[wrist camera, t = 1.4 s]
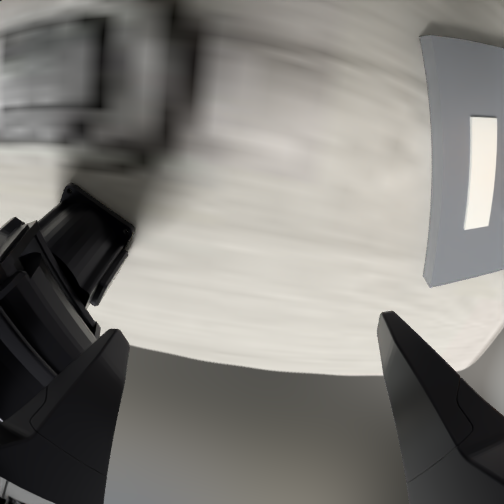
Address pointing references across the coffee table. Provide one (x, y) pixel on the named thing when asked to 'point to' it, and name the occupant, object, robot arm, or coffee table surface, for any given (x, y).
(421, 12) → the coffee table surface
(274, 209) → the coffee table surface
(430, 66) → the box
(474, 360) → the coffee table surface
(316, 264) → the coffee table surface
